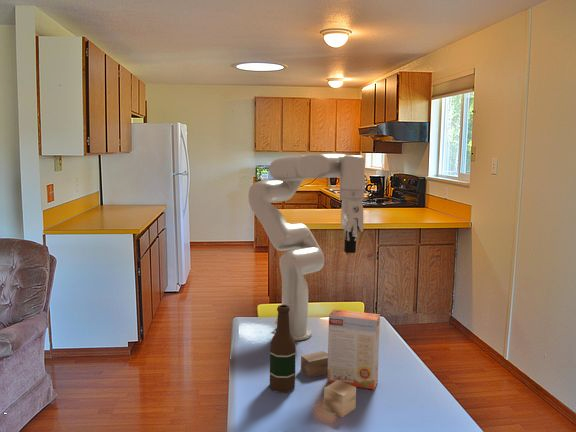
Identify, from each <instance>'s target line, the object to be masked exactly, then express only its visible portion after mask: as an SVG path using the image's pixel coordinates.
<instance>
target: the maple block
mask: <svg viewBox="0 0 576 432" xmlns="http://www.w3.org/2000/svg"><path fill="white" fill-rule="evenodd" d="M323 390H324V391H323V410H325V411H327V412H330V413H332V414H334V415H337V416H338V417H341V418H344V417H346V415H348V414H349V413H351V412H352V411H354V410H355V409H356V407H357V402H356V401H357V387H355V386H352V385H349V384H347V383H344V382H342V381H339V380H337V381H335V382H333V383H330V384H328V385H327V386H324V388H323Z"/></svg>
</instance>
